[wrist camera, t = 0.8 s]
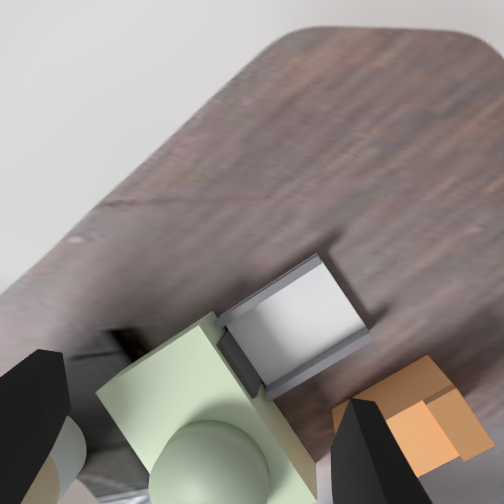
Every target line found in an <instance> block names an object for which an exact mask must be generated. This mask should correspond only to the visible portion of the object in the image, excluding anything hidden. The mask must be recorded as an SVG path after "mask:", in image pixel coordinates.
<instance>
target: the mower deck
mask: <svg viewBox="0 0 504 504" xmlns="http://www.w3.org/2000/svg"><path fill="white" fill-rule="evenodd" d="M225 325H226V327H227V328H228V331H226V330H225V328H224V326H225ZM372 341H374V339H373V337H372V335H371V334H370V332H369V330H368V329H367V327H366V326H365V324H364V323H363V321H362V320H361V318H360V317H359V315H358V314H357V312H356V311H355V309H354V308H353V306H352V305H351V303H350V302H349V300H348V299H347V297H346V296H345V294H344V293H343V291H342V290H341V288H340V287H339V285H338V284H337V282H336V281H335V279H334V278H333V276H332V275H331V273H330V272H329V270H328V269H327V267H326V266H325V265H324V263H323V262H322V260H321V259H320V257H319V256H318V254H317V253H315V254H314V255H312V256H311V257H309V258H308V259H306V260H305V261H303V262H301V263H300V264H298V265H297V266H295V267H294V268H292V269H291V270H289V271H288V272H286V273H285V274H283V275H281V276H280V277H278V278H277V279H275V280H274V281H272V282H271V283H269V284H268V285H266V286H265V287H263V288H261V289H260V290H258V291H257V292H255V293H254V294H252V295H251V296H249V297H248V298H246V299H245V300H243V301H241V302H240V303H238V304H237V305H235V306H234V307H232V308H231V309H229V310H228V311H226V312H225V313H223V314H221V316H220V317H219V318H217V316H216V315H215V313H214V312H213V311H212V312H210V313H208V314H207V315H205V316H204V317H202V318H201V319H199V320H198V321H196V322H195V323H193V324H192V325H190V326H189V327H187V328H186V329H184V330H182V331H181V332H179V333H178V334H176V335H175V336H173V337H172V338H170V339H169V340H167V341H166V342H164V343H163V344H161V345H160V346H158V347H157V348H155V349H153V350H152V351H150V352H149V353H147V354H146V355H144V356H143V357H141V358H140V359H138V360H137V361H135V362H134V363H132V364H131V365H129V366H127V367H126V368H124V369H123V370H121V371H120V372H119V373H118V374H117V375H116V376H114V377H113V378H112V379H111V380H110V381H108V382H107V383H106V384H105V385H104V386H102V387H101V388H100V389H99V390H98V391H97V392H95V393H96V394H97V396H98V397H99V399H100V400H101V402H102V403H103V405H104V406H105V408H106V409H107V411H108V412H109V414H110V415H111V417H112V418H113V420H114V421H115V423H116V424H117V426H118V427H119V429H120V430H121V431H122V433H123V434H124V436H125V437H126V439H127V440H128V442H129V443H130V445H131V446H132V448H133V449H134V451H135V452H136V454H137V455H138V457H139V458H140V460H141V461H142V463H143V464H144V466H145V467H146V469H147V470H148V472H149V473H150V478H149V496H150V501H151V504H314V503H316V502H317V483H316V464H315V462H314V461H313V459H312V458H311V456H310V455H309V453H308V452H307V450H306V449H305V447H304V446H303V444H302V443H301V441H300V440H299V438H298V437H297V435H296V434H295V432H294V431H293V429H292V428H291V426H290V425H289V423H288V422H287V420H286V419H285V417H284V416H283V414H282V413H281V411H280V410H279V409H278V407H277V406H276V404H275V403H274V401H273V400H274V399H275V398H277V397H279V396H280V395H282V394H284V393H285V392H287V391H289V390H290V389H292V388H294V387H296V386H297V385H299V384H301V383H302V382H304V381H306V380H307V379H309V378H311V377H313V376H314V375H316V374H318V373H319V372H321V371H323V370H324V369H326V368H328V367H329V366H331V365H333V364H335V363H336V362H338V361H340V360H341V359H343V358H345V357H346V356H348V355H350V354H351V353H353V352H355V351H357V350H358V349H360V348H362V347H363V346H365V345H367V344H368V343H370V342H372ZM262 380H263V382H264V383H265V385H266V389H265V388H264V386H263V385H262V383H261V381H262Z"/></svg>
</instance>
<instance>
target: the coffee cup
mask: <svg viewBox="0 0 504 504" xmlns="http://www.w3.org/2000/svg"><path fill="white" fill-rule="evenodd" d="M85 459H86V442H85V438H84V436H83V433H82V431H81V430H80V428H79V426H78V425H77V424H76V423H75V422H74V421H73V420H72V419H71V418H70V417H69V416H67V417H66V419H65V422H64V424H63V426H62V429H61V431H60V433H59V435H58V438H57V440H56V442H55V444H54V446H53V448H52V450H51V452H50V454H49V456H48V457H47V459H46V461H45V463H44V464H43V466H42V468H41V469H40V471H39V473H38V475H37V476H36V478H35V480H34V482H33V483H32V485H31V487H30V488H29V490H28V492H27V494H26V495H25V497H24V499H23V500H22V502H21V504H57V502H58V501H59V500H60V498H61V497H62V495H63V494H64V493H65V491H66V490H67V489H68V487H69V486H70V484H71V483H72V482H73V480H74V479H75V478H76V476H77V475H78V474H79V472H80V471H81V469H82V468H83V465H84V463H85Z"/></svg>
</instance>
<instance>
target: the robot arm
mask: <svg viewBox="0 0 504 504" xmlns="http://www.w3.org/2000/svg"><path fill="white" fill-rule="evenodd" d="M70 408H71V406H70V399H69V393H68V386H67V380H66V373H65V367H64V360H63V354H62V353H61V352H54V351H48V350H41V349H38V350H36V351H35V352H33V353H32V354H31V355H29V356H28V357H26V358H25V359H24V360H22V361H21V362H20V363H18V364H17V365H16V366H15V367H13V368H12V369H11V370H9V371H8V372H7V373H5V374H4V375H3V376H1V377H0V504H21V502H22V500H23V499H24V497H25V495H26V494H27V492H28V490H29V488H30V487H31V485H32V483H33V482H34V480H35V478H36V476H37V475H38V473H39V471H40V469H41V468H42V466H43V464H44V463H45V461H46V459H47V457H48V456H49V454H50V452H51V450H52V448H53V446H54V444H55V442H56V440H57V438H58V435H59V433H60V431H61V429H62V426H63V424H64V422H65V419H66V417H67V415H68V412H69V410H70ZM331 480H332V496H333V504H433V503H432V501H431V500H430V498H429V496H428V495H427V493H426V491H425V490H424V488H423V486H422V485H421V483H420V481H419V480H418V478H417V476H416V475H415V473H414V471H413V470H412V468H411V466H410V464H409V463H408V461H407V459H406V457H405V455H404V454H403V452H402V450H401V448H400V446H399V445H398V443H397V441H396V439H395V437H394V436H393V434H392V432H391V430H390V428H389V426H388V424H387V422H386V421H385V419H384V417H383V415H382V413H381V411H380V409H379V407H378V405H377V404H376V403H375V401H369V400H363V399H356V398H350V399H349V402H348V404H347V407H346V409H345V412H344V415H343V417H342V420H341V422H340V425H339V427H338V430H337V433H336V435H335V438H334V440H333V443H332V445H331Z"/></svg>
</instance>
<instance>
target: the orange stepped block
mask: <svg viewBox="0 0 504 504" xmlns="http://www.w3.org/2000/svg"><path fill="white" fill-rule="evenodd" d="M352 398H356V399H363V400H369V401H375V403H376V404H377V405H378V407H379V409H380V411H381V413H382V415H383V417H384V419H385V421H386V422H387V424H388V426H389V428H390V430H391V432H392V434H393V436H394V437H395V439H396V441H397V443H398V445H399V446H400V448H401V450H402V452H403V454H404V455H405V457H406V459H407V461H408V463H409V464H410V466H411V468H412V470H413V471H414V473H415V475H416V476H417V477H419V476H421V475H423V474H425V473H427V472H429V471H431V470H433V469H435V468H437V467H439V466H441V465H443V464H445V463H447V462H449V461H450V460H452V459H454V458H456V457H458V456H460V457H461V458H462V460H463V461H464V462H465V461H467V460H469V459H470V458H472V457H474V456H476V455H478V454H480V453H482V452H484V451H486V450H488V449H490V448H492V447H494V446H495V444H494V443H493V441H492V440H491V438H490V437H489V435H488V434H487V432H486V431H485V429H484V428H483V426H482V425H481V423H480V422H479V421H478V419H477V418H476V416H475V415H474V413H473V412H472V410H471V409H470V407H469V406H468V404H467V403H466V401H465V400H464V398H463V397H462V395H461V394H460V392H459V391H458V389H457V388H456V387H455V386H454V384H453V383H452V382H451V381H450V380H449V379H448V378H447V376H446V375H445V374H444V373H443V372H442V371H441V370H440V368H439V367H438V366H437V365H436V364H435V363H434V362H433V360H432V359H431V358H430V357H429V356H428V355H426V356H424V357H422V358H420V359H419V360H417V361H415V362H413V363H412V364H410V365H408V366H406V367H405V368H403V369H401V370H399V371H398V372H396V373H394V374H392V375H391V376H389V377H387V378H385V379H384V380H382V381H380V382H378V383H377V384H375V385H373V386H371V387H370V388H368V389H366V390H364V391H362V392H361V393H359V394H357V395H355V396H354V397H352ZM348 402H349V399H348V400H347V401H345V402H343V403H341V404H340V405H338V406H336V407H334V408H333V409H332V415H333V423H334V430H335V435H336V433H337V430H338V427H339V425H340V422H341V420H342V417H343V415H344V412H345V409H346V407H347V404H348Z"/></svg>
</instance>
